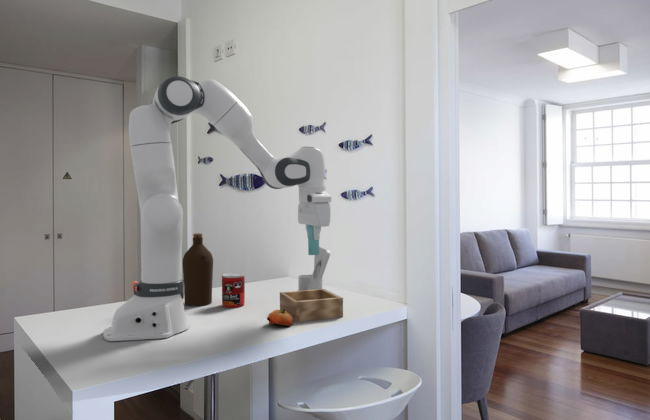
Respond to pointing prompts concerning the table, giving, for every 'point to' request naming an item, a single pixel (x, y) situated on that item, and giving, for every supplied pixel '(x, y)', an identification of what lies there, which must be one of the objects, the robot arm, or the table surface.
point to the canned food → (233, 290)
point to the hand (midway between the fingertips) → (313, 239)
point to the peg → (312, 242)
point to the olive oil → (197, 273)
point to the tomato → (280, 318)
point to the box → (311, 304)
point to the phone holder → (315, 272)
